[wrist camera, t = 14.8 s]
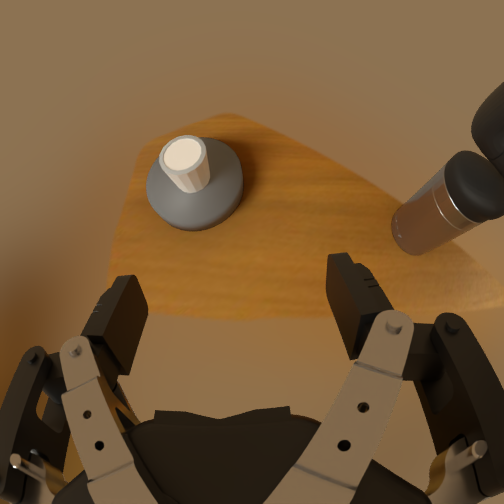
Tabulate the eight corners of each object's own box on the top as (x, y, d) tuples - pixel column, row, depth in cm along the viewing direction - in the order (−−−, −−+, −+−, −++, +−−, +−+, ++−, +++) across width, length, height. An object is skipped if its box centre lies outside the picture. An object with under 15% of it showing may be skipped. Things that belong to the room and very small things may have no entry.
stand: (244, 147, 48) (242, 134, 44) (243, 230, 44) (241, 221, 40) (161, 154, 48) (154, 142, 44) (149, 232, 44) (140, 225, 41)
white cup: (176, 202, 41) (162, 181, 34) (169, 167, 43) (155, 144, 36) (218, 188, 41) (210, 164, 35) (208, 154, 43) (200, 128, 36)
